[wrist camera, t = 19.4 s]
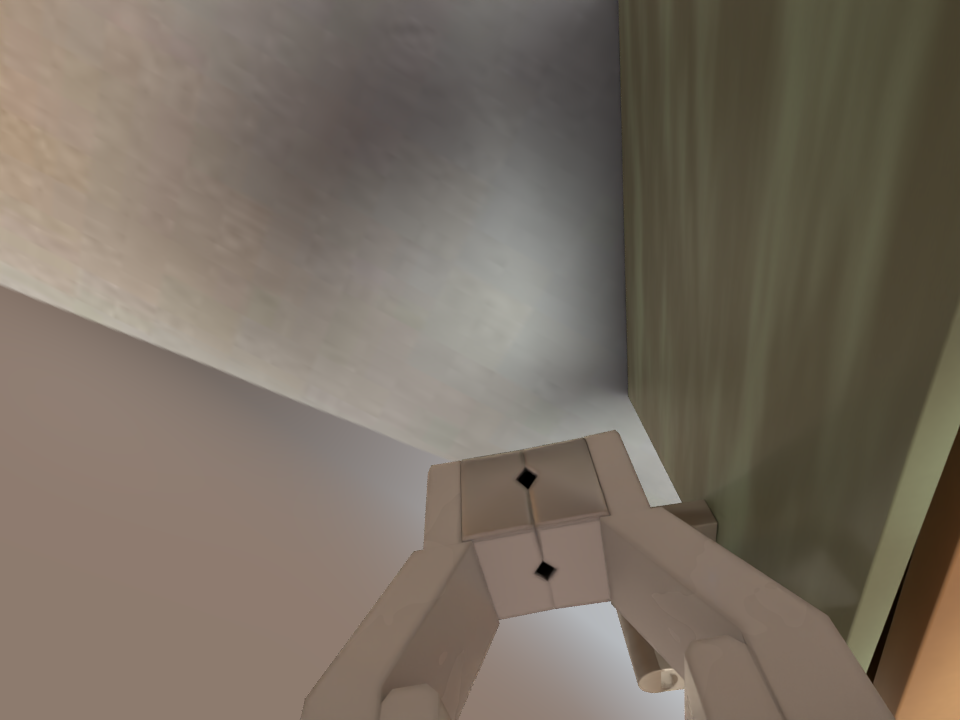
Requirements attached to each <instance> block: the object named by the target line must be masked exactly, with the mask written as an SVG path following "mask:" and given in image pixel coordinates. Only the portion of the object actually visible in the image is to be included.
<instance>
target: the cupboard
mask: <svg viewBox="0 0 960 720" xmlns="http://www.w3.org/2000/svg"><path fill="white" fill-rule="evenodd" d="M866 675H867V676H868V678H869V679H870V681H871V682H872V684H873V685H874V687H875V688H876V690H877V691H878V693H879V694H880V696H881V698H882V699H883V701H884V702H885V704H886V705H887V707H888V708H889V710H890V711H891V713H892V714H893V716H894V717H895V719H896V720H960V426H959V429H958V432H957V434H956V437H955V440H954V442H953V445H952V448H951V450H950V453H949V456H948V458H947V461H946V463H945V466H944V469H943V471H942V474H941V477H940V479H939V482H938V485H937V487H936V490H935V493H934V495H933V498H932V501H931V503H930V506H929V509H928V511H927V514H926V516H925V519H924V522H923V524H922V527H921V530H920V532H919V535H918V538H917V540H916V543H915V546H914V548H913V551H912V554H911V556H910V559H909V562H908V564H907V567H906V569H905V572H904V575H903V577H902V580H901V583H900V585H899V588H898V591H897V593H896V596H895V599H894V601H893V604H892V607H891V609H890V612H889V614H888V617H887V620H886V622H885V625H884V628H883V630H882V633H881V636H880V638H879V641H878V644H877V646H876V649H875V652H874V654H873V657H872V660H871V662H870V665H869V667H868V670H867V673H866Z"/></svg>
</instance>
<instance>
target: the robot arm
mask: <svg viewBox="0 0 960 720" xmlns="http://www.w3.org/2000/svg"><path fill="white" fill-rule="evenodd" d="M608 601H611V604H612V605H613V606H614V607H615V608H616V609H617V610H618V611H619V612H620V613H621V614H622V616H623V617H624V618H625V619H626V620H627V621H628V622H629V623H630V624H631V625H632V626H633V627H634V628H635V629H636V630H637V631H638V632H639V633H640V634H641V635H642V636H643V638H644V639H645V640H646V641H647V642H648V643H649V644H650V645H651V646H652V647H653V648H654V649H655V650H656V651H657V652H658V653H659V654H660V655H661V656H662V657H663V658H664V659H665V661H666V662H667V663H668V664H669V665H670V666H671V667H672V668H673V669H674V670H675V671H676V672H677V673H678V674H679V675H680V676H681V677H682V678H683V679H684V680H685V720H896V719H895V717H894V716H893V714H892V713H891V711H890V710H889V708H888V707H887V705H886V704H885V702H884V701H883V699H882V698H881V696H880V694H879V693H878V691H877V690H876V688H875V687H874V685H873V684H872V682H871V681H870V679H869V678H868V676H867V675H866V673H865V671H864V670H863V668H862V667H861V665H860V664H859V662H858V661H857V659H856V658H855V656H854V655H853V653H852V652H851V650H850V648H849V647H848V645H847V644H846V642H845V641H844V639H843V638H842V636H841V635H840V633H839V632H838V630H837V628H836V627H835V625H834V624H833V622H832V621H831V619H830V618H829V616H828V615H826V614H825V613H823V612H821V611H820V610H818V609H817V608H815V607H814V606H812V605H811V604H809V603H808V602H806V601H805V600H803V599H802V598H800V597H799V596H797V595H796V594H794V593H792V592H791V591H789V590H788V589H786V588H785V587H783V586H782V585H780V584H779V583H777V582H776V581H774V580H773V579H771V578H770V577H768V576H767V575H765V574H763V573H762V572H760V571H759V570H757V569H756V568H754V567H753V566H751V565H750V564H748V563H747V562H745V561H744V560H742V559H741V558H739V557H738V556H736V555H734V554H733V553H731V552H730V551H728V550H727V549H725V548H724V547H722V546H721V545H719V544H718V543H716V542H715V541H713V540H712V539H710V538H709V537H707V536H705V535H704V534H702V533H701V532H699V531H698V530H696V529H695V528H693V527H692V526H690V525H689V524H687V523H686V522H684V521H683V520H681V519H679V518H678V517H676V516H675V515H673V514H672V513H670V512H669V511H667V510H666V509H664V508H663V507H657V508H651V507H650V505H649V502H648V500H647V498H646V495H645V493H644V491H643V488H642V486H641V484H640V481H639V479H638V477H637V474H636V472H635V470H634V467H633V465H632V463H631V460H630V458H629V456H628V453H627V451H626V449H625V446H624V444H623V441H622V439H621V437H620V434H619V433H618V432H617V431H615V430H612V431H608V432H603V433H598V434H594V435H589V436H584V438H583V437H582V438H577V439H572V440H567V441H562V442H557V443H552V444H547V445H542V446H537V447H532V448H527V449H522V450H516V451H510V452H504V453H498V454H492V455H487V456H481V457H475V458H469V459H463V460H462V461H455V462H450V463H443V464H437V465H431V468H430V469H429V472H428V481H427V497H426V513H425V530H424V548H423V550H418V551H414V552H413V553H412V554H411V556H410V557H409V558H408V560H407V561H406V563H405V564H404V565H403V567H402V568H401V569H400V571H399V572H398V573H397V575H396V576H395V577H394V579H393V580H392V582H391V583H390V584H389V586H388V587H387V588H386V590H385V591H384V592H383V594H382V595H381V597H380V598H379V599H378V601H377V602H376V603H375V605H374V606H373V607H372V609H371V610H370V611H369V613H368V614H367V615H366V617H365V618H364V620H363V621H362V622H361V624H360V625H359V626H358V628H357V629H356V630H355V632H354V633H353V635H352V636H351V637H350V639H349V640H348V641H347V643H346V644H345V645H344V647H343V648H342V649H341V651H340V652H339V653H338V655H337V656H336V658H335V659H334V661H333V662H332V663H331V664H330V666H329V667H328V668H327V670H326V671H325V672H324V674H323V675H322V677H321V678H320V679H319V681H318V682H317V683H316V685H315V686H314V687H313V689H312V690H311V692H310V693H309V694H308V696H307V697H306V698H305V701H304V705H303V710H302V714H301V718H300V720H458V719H459V716H460V714H461V712H462V709H463V707H464V705H465V702H466V700H467V698H468V695H469V693H470V691H471V689H472V686H473V684H474V682H475V679H476V677H477V675H478V672H479V670H480V668H481V666H482V663H483V661H484V659H485V656H486V654H487V652H488V649H489V647H490V645H491V642H492V640H493V638H494V635H495V633H496V631H497V629H498V626H499V620H501V619H506V618H511V617H516V616H521V615H527V614H532V613H537V612H542V611H547V610H552V609H558V608H565V607H572V606H580V605H586V604H594V603H601V602H608Z"/></svg>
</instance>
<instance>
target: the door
mask: <svg viewBox="0 0 960 720" xmlns="http://www.w3.org/2000/svg"><path fill="white" fill-rule="evenodd" d="M618 2H619V42H620V83H621V123H622V164H623V204H624V244H625V285H626V325H627V365H628V397H629V399H630V401H631V403H632V405H633V407H634V409H635V411H636V413H637V414H638V416H639V418H640V420H641V422H642V424H643V426H644V428H645V430H646V432H647V434H648V436H649V438H650V440H651V442H652V444H653V446H654V448H655V450H656V452H657V454H658V456H659V458H660V460H661V462H662V464H663V466H664V468H665V470H666V472H667V474H668V476H669V478H670V480H671V482H672V484H673V486H674V488H675V490H676V492H677V494H678V496H679V498H680V500H681V501H682V503H677V504H670V505H663V506H656V507H651V508H657V507H663V508H664V509H666V510H667V511H669V512H670V513H672V514H673V515H675V516H676V517H678V518H679V519H681V520H683V521H684V522H686V523H687V524H689V525H690V526H692V527H693V528H695V529H696V530H698V531H699V532H701V533H702V534H704V535H705V536H707V537H709V538H710V539H712V540H713V541H715V542H716V543H718V544H719V545H721V546H722V547H724V548H725V549H727V550H728V551H730V552H731V553H733V554H734V555H736V556H738V557H739V558H741V559H742V560H744V561H745V562H747V563H748V564H750V565H751V566H753V567H754V568H756V569H757V570H759V571H760V572H762V573H763V574H765V575H767V576H768V577H770V578H771V579H773V580H774V581H776V582H777V583H779V584H780V585H782V586H783V587H785V588H786V589H788V590H789V591H791V592H792V593H794V594H796V595H797V596H799V597H800V598H802V599H803V600H805V601H806V602H808V603H809V604H811V605H812V606H814V607H815V608H817V609H818V610H820V611H821V612H823V613H825V614H826V615H828V616H829V618H830V619H831V621H832V622H833V624H834V625H835V627H836V628H837V630H838V632H839V633H840V635H841V636H842V638H843V639H844V641H845V642H846V644H847V645H848V647H849V648H850V650H851V652H852V653H853V655H854V656H855V658H856V659H857V661H858V662H859V664H860V665H861V667H862V668H863V670H864V671H865V673H867V670H868V667H869V665H870V662H871V660H872V657H873V654H874V652H875V649H876V646H877V644H878V641H879V638H880V636H881V633H882V630H883V628H884V625H885V622H886V620H887V617H888V614H889V612H890V609H891V607H892V604H893V601H894V599H895V596H896V593H897V591H898V588H899V585H900V583H901V580H902V577H903V575H904V572H905V569H906V567H907V564H908V562H909V559H910V556H911V554H912V551H913V548H914V546H915V543H916V540H917V538H918V535H919V532H920V530H921V527H922V524H923V522H924V519H925V516H926V514H927V511H928V509H929V506H930V503H931V501H932V498H933V495H934V493H935V490H936V487H937V485H938V482H939V479H940V477H941V474H942V471H943V469H944V466H945V463H946V461H947V458H948V456H949V453H950V450H951V448H952V445H953V442H954V440H955V437H956V434H957V432H958V429H959V426H960V0H618ZM616 610H617V609H616ZM617 613H618V617H619V620H620V624H621V627H622V630H623V634H624V638H625V641H626V644H627V648H628V651H629V655H630V658H631V662H632V665H633V669H634V672H635V675H636V679H637V682H638V686H639V687H640V689H642V690H643V691H646V692H650V693H658V692H664V691H671V690H679V689H685V680H684V679H683V678H682V677H681V676H680V675H679V674H678V673H677V672H676V671H675V670H674V669H673V668H672V667H671V666H670V665H669V664H668V663H667V662H666V661H665V659H664V658H663V657H662V656H661V655H660V654H659V653H658V652H657V651H656V650H655V649H654V648H653V647H652V646H651V645H650V644H649V643H648V642H647V641H646V640H645V639H644V638H643V636H642V635H641V634H640V633H639V632H638V631H637V630H636V629H635V628H634V627H633V626H632V625H631V624H630V623H629V622H628V621H627V620H626V619H625V618H624V617H623V616H622V614H621V613H620V612H619V611H618V610H617Z"/></svg>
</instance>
